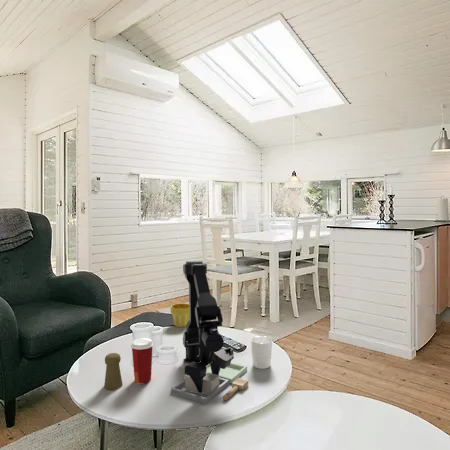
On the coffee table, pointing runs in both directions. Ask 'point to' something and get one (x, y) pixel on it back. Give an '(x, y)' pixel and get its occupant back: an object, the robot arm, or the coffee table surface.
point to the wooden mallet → (236, 387)
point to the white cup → (261, 351)
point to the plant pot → (180, 314)
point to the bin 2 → (230, 371)
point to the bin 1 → (195, 397)
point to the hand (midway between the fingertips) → (208, 386)
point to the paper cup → (142, 360)
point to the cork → (112, 372)
